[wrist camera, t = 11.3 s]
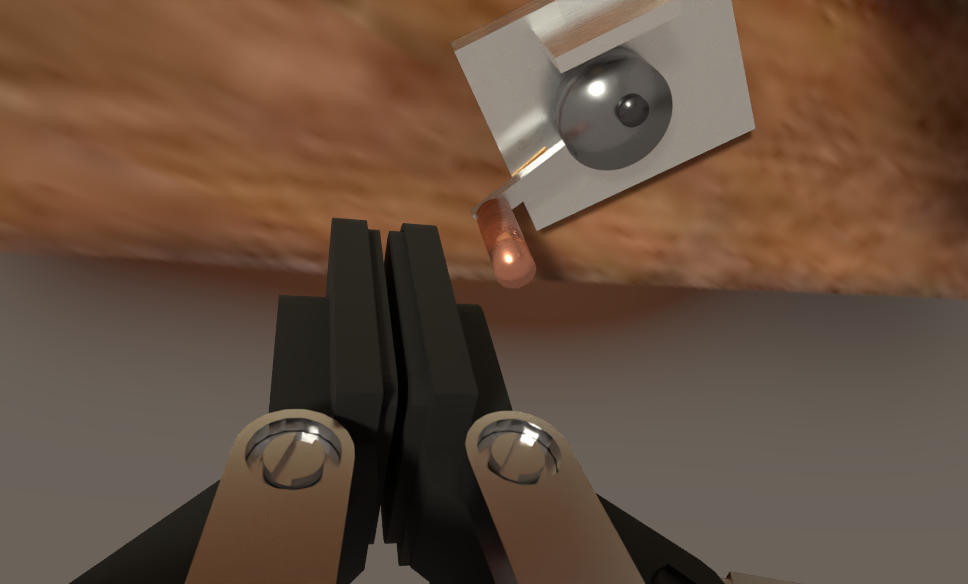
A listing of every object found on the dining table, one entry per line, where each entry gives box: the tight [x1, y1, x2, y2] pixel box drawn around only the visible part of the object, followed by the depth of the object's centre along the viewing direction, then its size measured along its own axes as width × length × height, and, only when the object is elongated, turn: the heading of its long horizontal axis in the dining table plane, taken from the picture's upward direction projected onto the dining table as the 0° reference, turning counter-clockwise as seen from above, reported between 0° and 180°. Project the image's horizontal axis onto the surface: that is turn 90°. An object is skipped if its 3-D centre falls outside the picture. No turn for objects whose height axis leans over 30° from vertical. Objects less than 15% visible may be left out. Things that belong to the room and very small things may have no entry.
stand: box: [450, 0, 755, 231], centre depth 37 cm, size 14×12×6 cm
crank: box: [471, 49, 673, 288], centre depth 36 cm, size 12×6×8 cm, turn 127°
